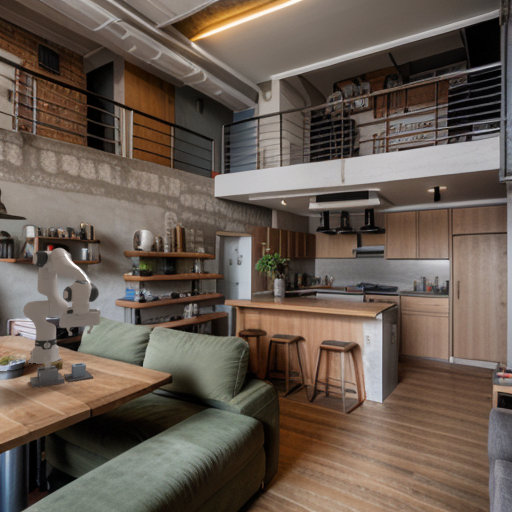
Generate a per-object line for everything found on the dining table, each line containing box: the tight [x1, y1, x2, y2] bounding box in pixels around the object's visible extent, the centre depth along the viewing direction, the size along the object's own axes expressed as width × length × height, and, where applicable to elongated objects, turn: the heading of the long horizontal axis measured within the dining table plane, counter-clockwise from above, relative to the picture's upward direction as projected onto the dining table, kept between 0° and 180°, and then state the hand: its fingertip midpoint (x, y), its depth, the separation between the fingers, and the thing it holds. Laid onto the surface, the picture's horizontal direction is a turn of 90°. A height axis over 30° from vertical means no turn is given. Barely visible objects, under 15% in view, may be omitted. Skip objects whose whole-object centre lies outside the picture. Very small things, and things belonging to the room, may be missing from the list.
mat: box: [63, 370, 94, 383], centre depth 194 cm, size 14×12×1 cm
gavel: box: [42, 360, 64, 370], centre depth 202 cm, size 21×5×10 cm
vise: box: [29, 356, 66, 389], centre depth 185 cm, size 13×14×14 cm
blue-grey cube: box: [71, 362, 87, 378], centre depth 194 cm, size 6×6×6 cm
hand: (79, 334), depth 195 cm, fingers open, 8 cm apart
